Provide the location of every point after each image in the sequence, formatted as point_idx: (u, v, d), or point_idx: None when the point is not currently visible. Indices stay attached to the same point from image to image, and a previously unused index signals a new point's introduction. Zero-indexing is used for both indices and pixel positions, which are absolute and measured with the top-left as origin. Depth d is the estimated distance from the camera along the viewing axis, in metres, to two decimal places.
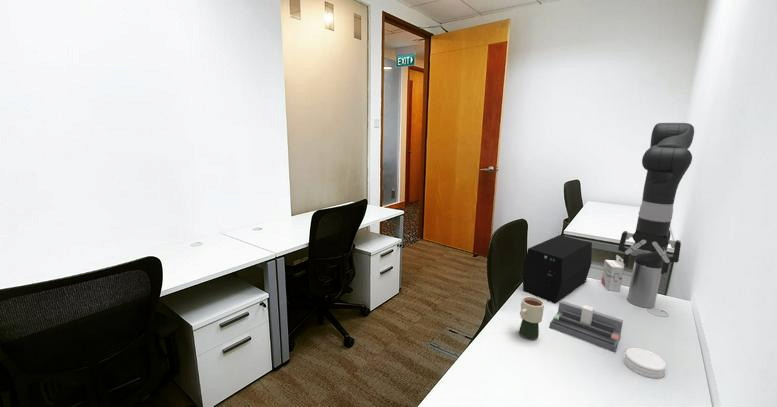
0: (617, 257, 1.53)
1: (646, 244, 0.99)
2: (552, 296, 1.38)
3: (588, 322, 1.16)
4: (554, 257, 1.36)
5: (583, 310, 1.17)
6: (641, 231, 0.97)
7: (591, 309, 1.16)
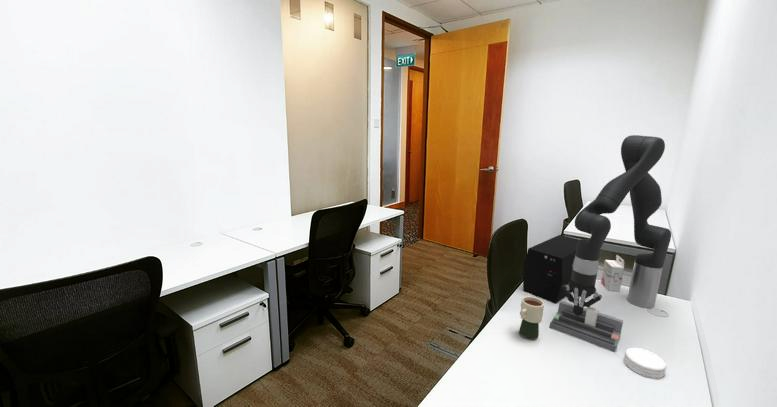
0: (617, 257, 1.53)
1: (580, 290, 1.17)
2: (552, 296, 1.38)
3: (592, 323, 1.15)
4: (554, 257, 1.36)
5: (587, 311, 1.16)
6: (573, 281, 1.16)
7: (595, 310, 1.15)
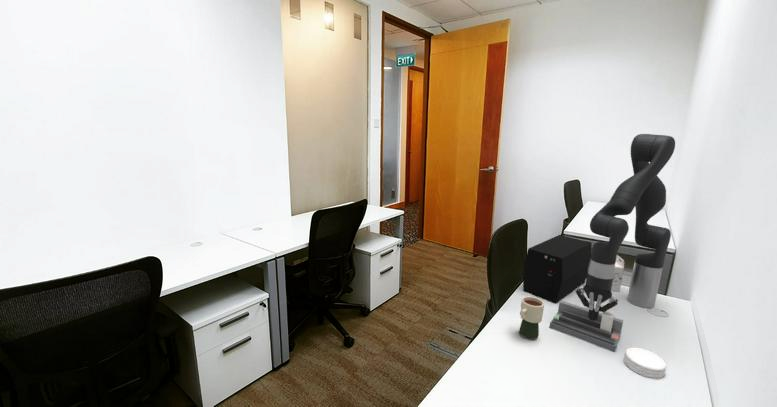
0: (617, 257, 1.53)
1: (595, 294, 1.14)
2: (552, 296, 1.38)
3: (608, 329, 1.13)
4: (554, 257, 1.36)
5: (603, 316, 1.13)
6: (589, 285, 1.13)
7: (611, 315, 1.12)
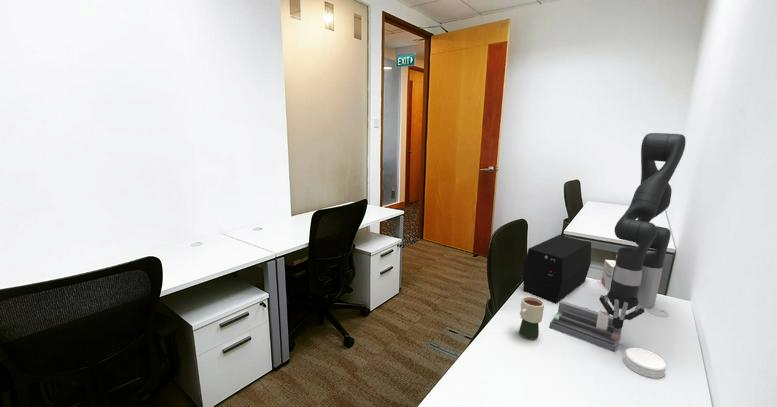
0: None
1: (621, 302, 1.09)
2: (552, 296, 1.38)
3: (604, 328, 1.13)
4: (555, 257, 1.36)
5: (599, 315, 1.14)
6: (614, 292, 1.08)
7: (607, 314, 1.13)
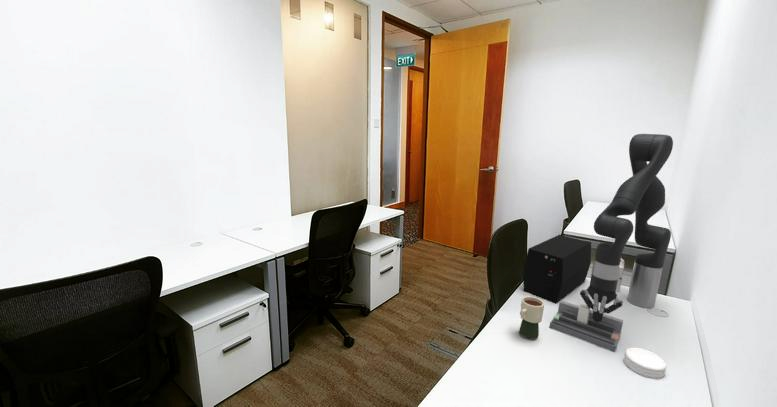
0: None
1: (600, 295, 1.13)
2: (553, 296, 1.38)
3: (585, 321, 1.17)
4: (555, 257, 1.36)
5: (580, 309, 1.17)
6: (593, 286, 1.12)
7: (588, 308, 1.17)
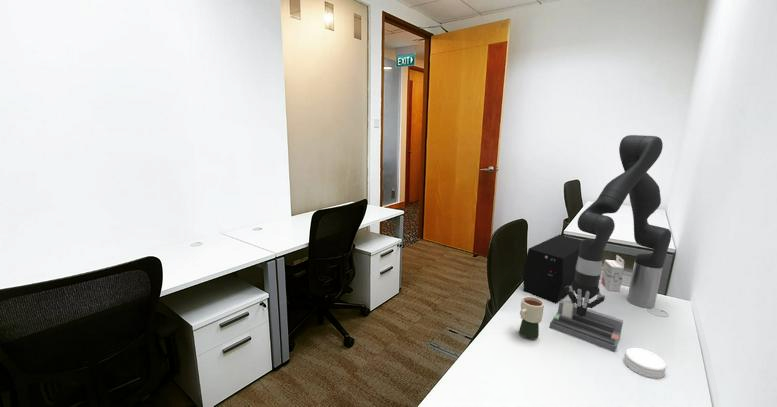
0: (617, 257, 1.53)
1: (583, 291, 1.16)
2: (553, 296, 1.38)
3: (569, 316, 1.20)
4: (555, 257, 1.36)
5: (564, 304, 1.21)
6: (577, 282, 1.15)
7: (572, 303, 1.20)
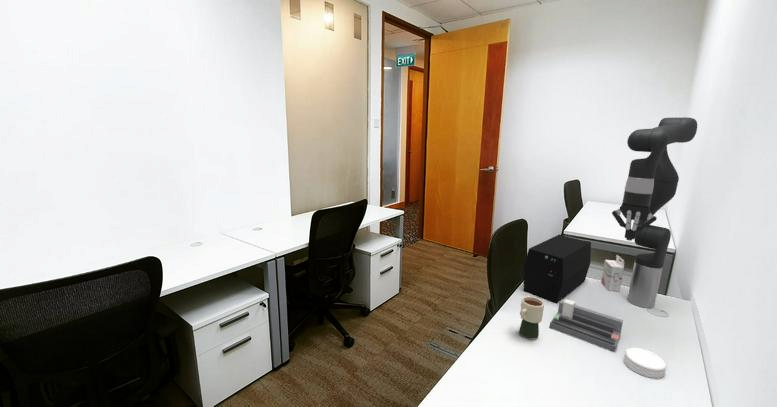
0: (617, 257, 1.53)
1: (633, 212, 1.13)
2: (553, 296, 1.38)
3: (569, 316, 1.20)
4: (555, 257, 1.36)
5: (564, 304, 1.21)
6: (627, 203, 1.13)
7: (572, 303, 1.20)
